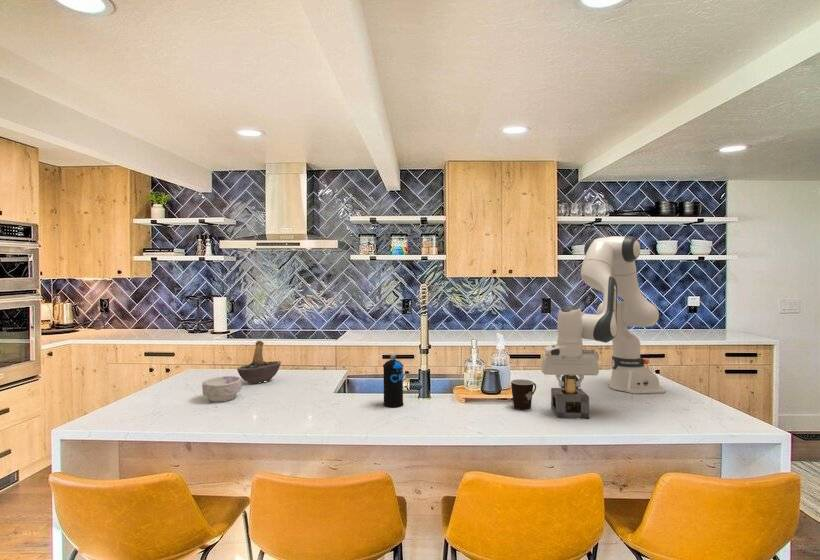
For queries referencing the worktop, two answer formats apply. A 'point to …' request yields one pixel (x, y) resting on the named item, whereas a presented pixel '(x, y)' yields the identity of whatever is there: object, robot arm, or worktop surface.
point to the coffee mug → (522, 393)
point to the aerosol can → (393, 383)
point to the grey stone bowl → (221, 388)
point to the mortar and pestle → (259, 367)
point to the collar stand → (561, 398)
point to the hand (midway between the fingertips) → (569, 386)
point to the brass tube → (570, 390)
